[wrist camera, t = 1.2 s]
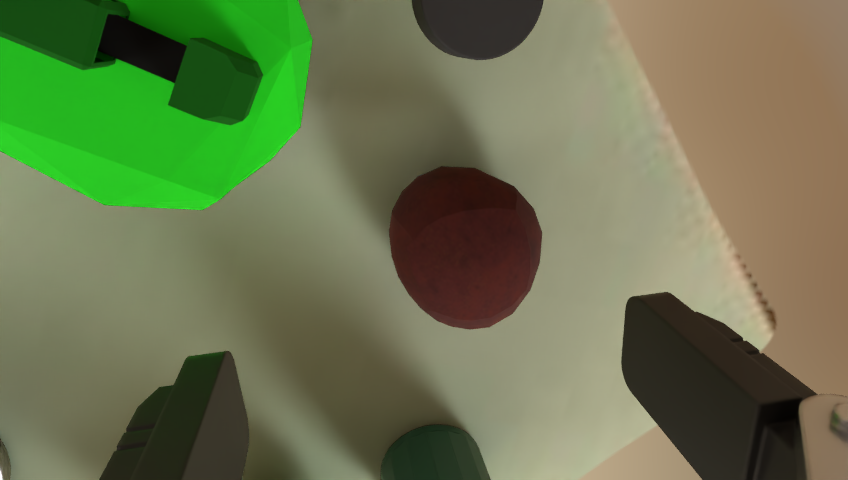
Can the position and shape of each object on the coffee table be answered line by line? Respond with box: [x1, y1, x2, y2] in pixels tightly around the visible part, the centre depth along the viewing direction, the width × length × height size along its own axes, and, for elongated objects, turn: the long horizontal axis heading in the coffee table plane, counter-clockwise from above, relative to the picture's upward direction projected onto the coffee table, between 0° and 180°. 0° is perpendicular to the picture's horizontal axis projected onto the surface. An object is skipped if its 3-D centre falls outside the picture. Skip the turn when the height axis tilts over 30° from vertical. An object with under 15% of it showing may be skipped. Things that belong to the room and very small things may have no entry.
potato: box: [389, 166, 542, 329], centre depth 26 cm, size 7×8×6 cm
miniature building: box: [0, 0, 313, 210], centre depth 18 cm, size 12×12×11 cm
